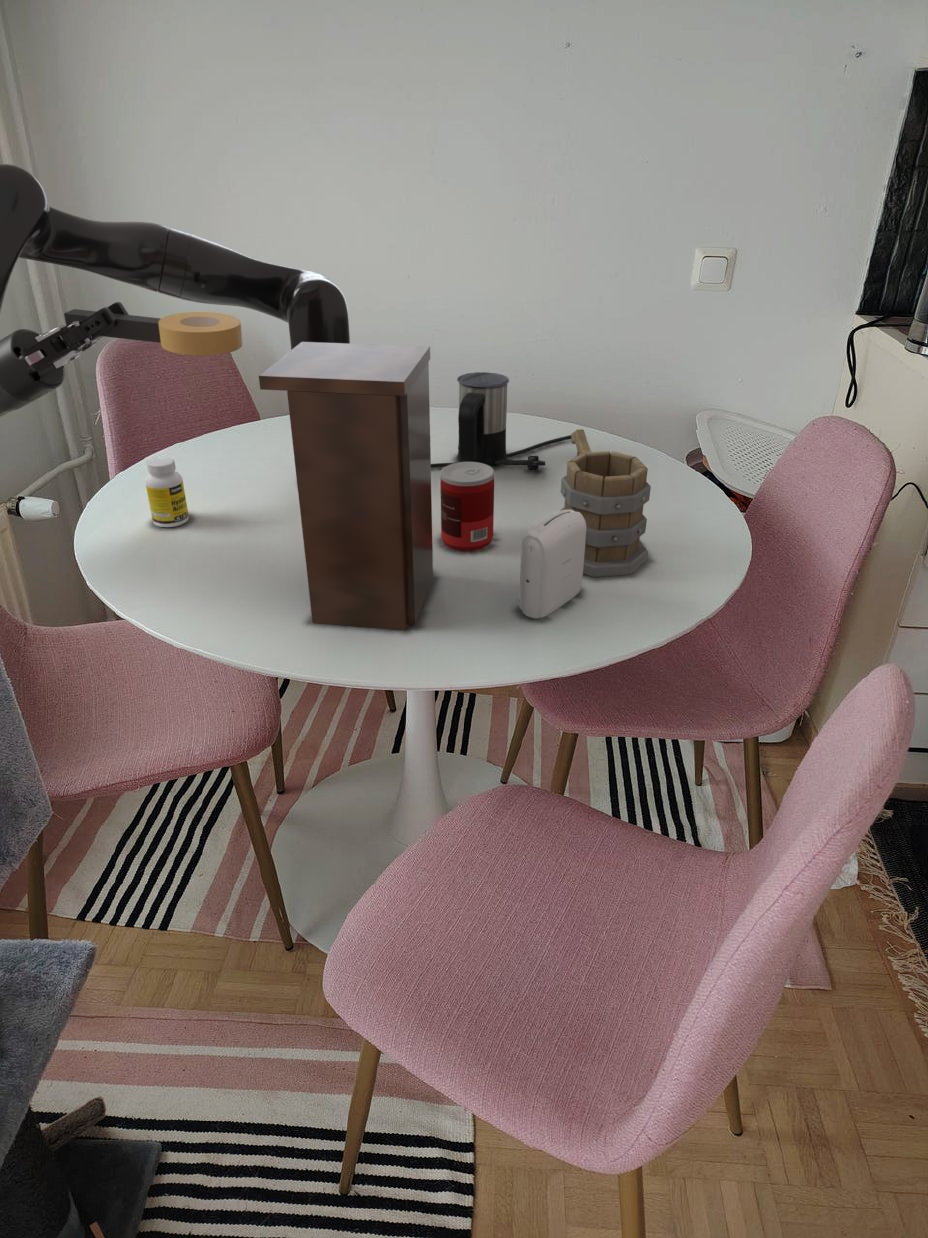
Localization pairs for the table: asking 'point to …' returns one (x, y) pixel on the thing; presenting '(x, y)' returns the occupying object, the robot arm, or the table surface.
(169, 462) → the supplement bottle
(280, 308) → the robot arm
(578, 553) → the photo printer
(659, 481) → the table surface
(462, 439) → the milk frother
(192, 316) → the disc with black handle
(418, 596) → the wooden cabinet
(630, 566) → the tankard
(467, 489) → the canned food
